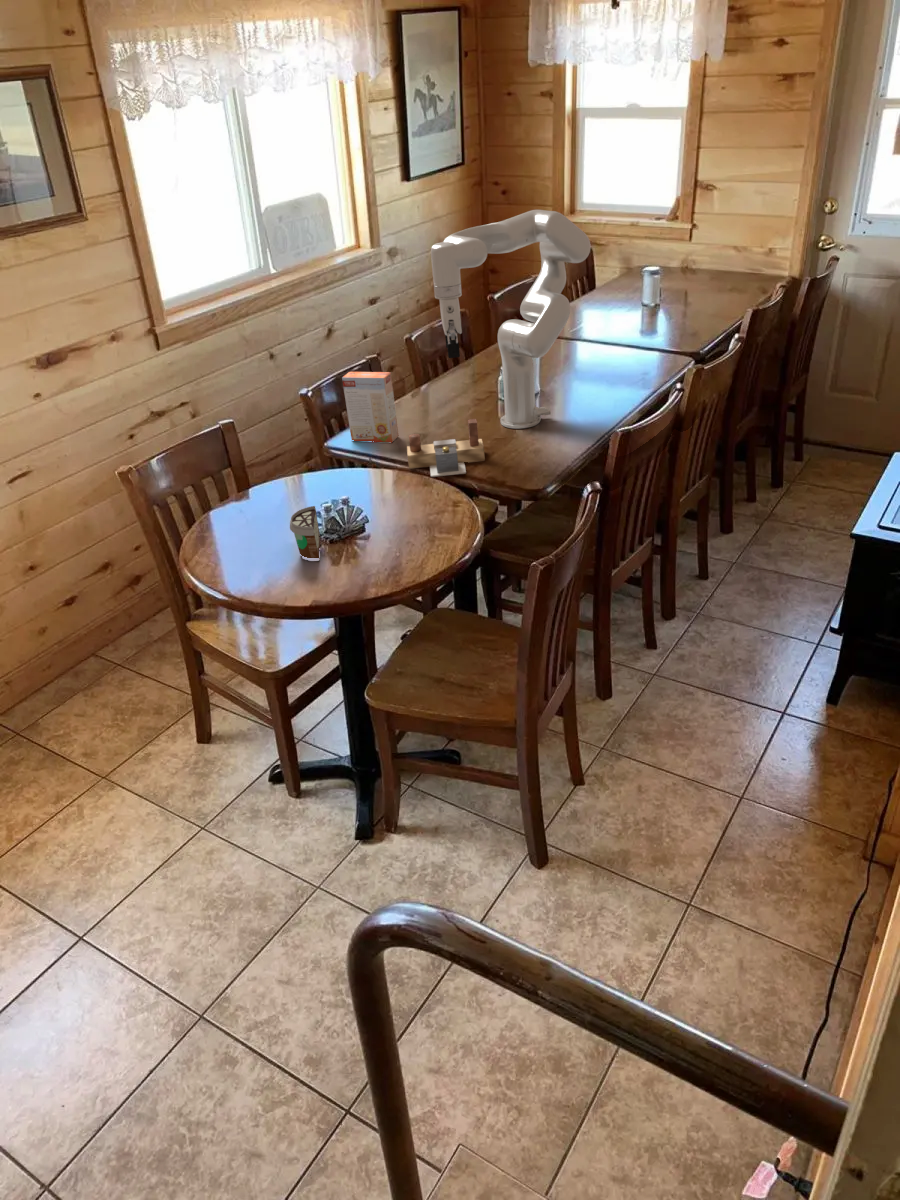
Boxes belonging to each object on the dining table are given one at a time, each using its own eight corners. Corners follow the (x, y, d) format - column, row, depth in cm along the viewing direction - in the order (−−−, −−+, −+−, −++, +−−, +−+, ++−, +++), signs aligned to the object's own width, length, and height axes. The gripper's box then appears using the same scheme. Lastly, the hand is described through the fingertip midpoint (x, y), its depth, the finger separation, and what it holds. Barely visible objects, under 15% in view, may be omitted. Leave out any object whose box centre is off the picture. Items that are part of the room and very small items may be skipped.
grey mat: (464, 463, 259) (464, 462, 259) (466, 473, 253) (466, 472, 253) (429, 467, 259) (429, 465, 259) (430, 477, 253) (430, 475, 253)
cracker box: (399, 436, 281) (391, 371, 270) (392, 444, 276) (383, 377, 265) (358, 434, 285) (349, 370, 274) (351, 442, 281) (341, 376, 270)
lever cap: (457, 464, 258) (455, 443, 254) (458, 470, 254) (456, 449, 250) (436, 466, 258) (434, 445, 254) (437, 473, 254) (435, 451, 250)
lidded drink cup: (297, 543, 225) (290, 507, 220) (321, 540, 226) (315, 504, 220) (294, 567, 215) (286, 530, 210) (319, 564, 215) (312, 527, 210)
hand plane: (482, 451, 265) (480, 415, 259) (484, 460, 259) (482, 424, 254) (408, 459, 265) (404, 423, 259) (409, 468, 259) (404, 432, 253)
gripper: (463, 296, 239) (468, 360, 248) (459, 282, 254) (463, 342, 263) (435, 299, 239) (441, 362, 248) (432, 285, 254) (438, 345, 263)
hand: (452, 352), depth 256 cm, fingers open, 9 cm apart
